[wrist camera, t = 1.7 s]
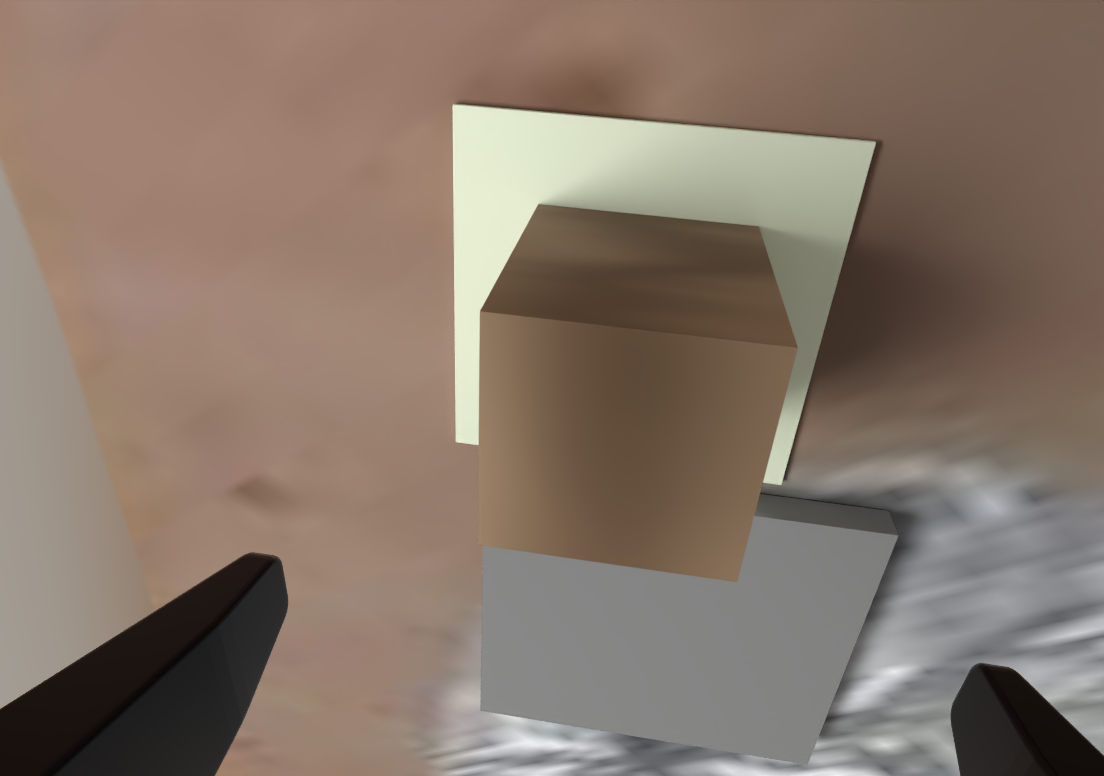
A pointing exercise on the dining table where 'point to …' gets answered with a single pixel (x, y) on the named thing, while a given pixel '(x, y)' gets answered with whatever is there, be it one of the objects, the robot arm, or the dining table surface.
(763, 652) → the slate board
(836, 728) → the dining table surface
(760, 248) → the block
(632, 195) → the pale cream tile
